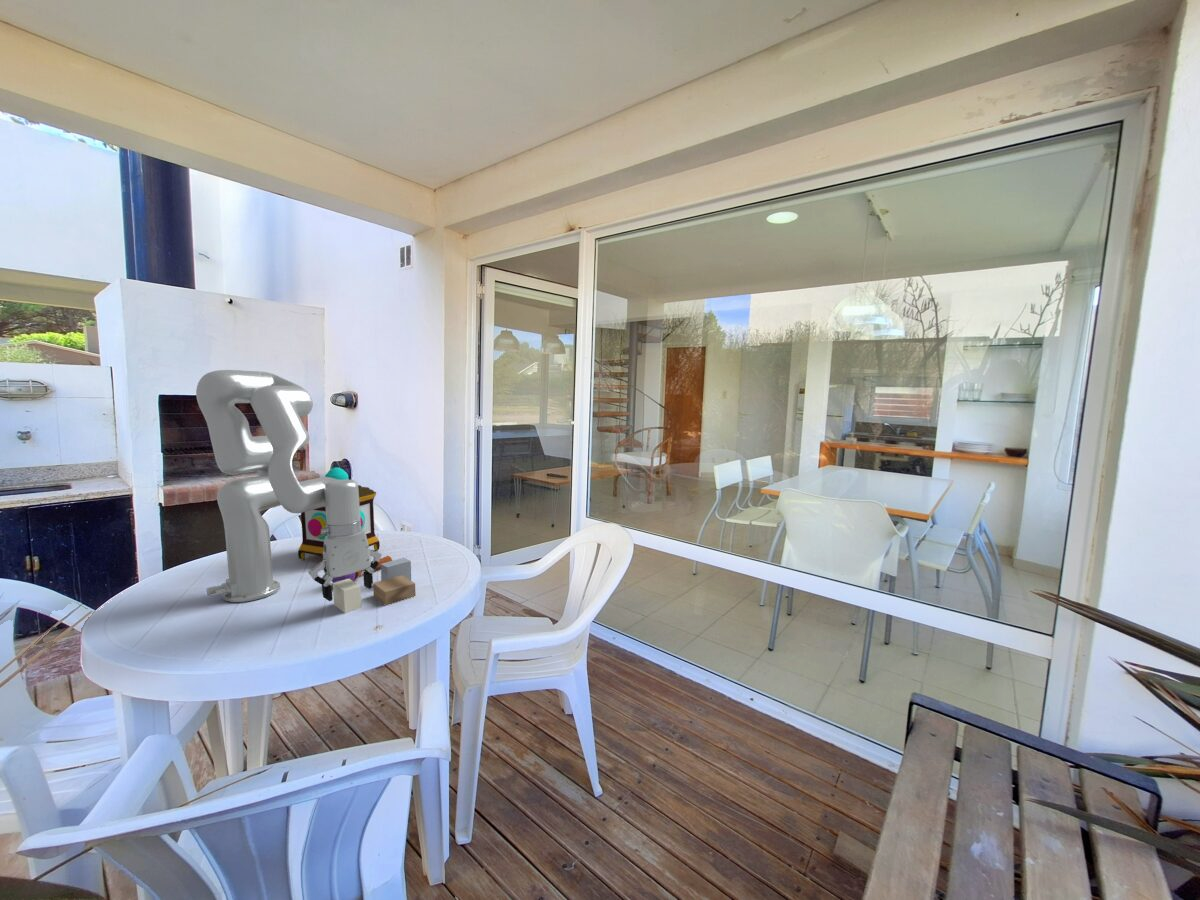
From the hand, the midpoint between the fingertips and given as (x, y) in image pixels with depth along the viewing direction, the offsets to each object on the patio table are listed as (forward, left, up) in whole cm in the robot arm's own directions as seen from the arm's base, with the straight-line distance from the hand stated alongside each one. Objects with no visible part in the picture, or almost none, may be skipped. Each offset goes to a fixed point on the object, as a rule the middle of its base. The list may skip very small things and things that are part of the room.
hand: (348, 593), depth 122 cm
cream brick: (0, +1, -4) cm, 4 cm away
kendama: (+11, +17, -4) cm, 21 cm away
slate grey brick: (+16, +7, -4) cm, 17 cm away
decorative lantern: (+14, +42, -4) cm, 44 cm away
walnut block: (+11, -2, -4) cm, 12 cm away
